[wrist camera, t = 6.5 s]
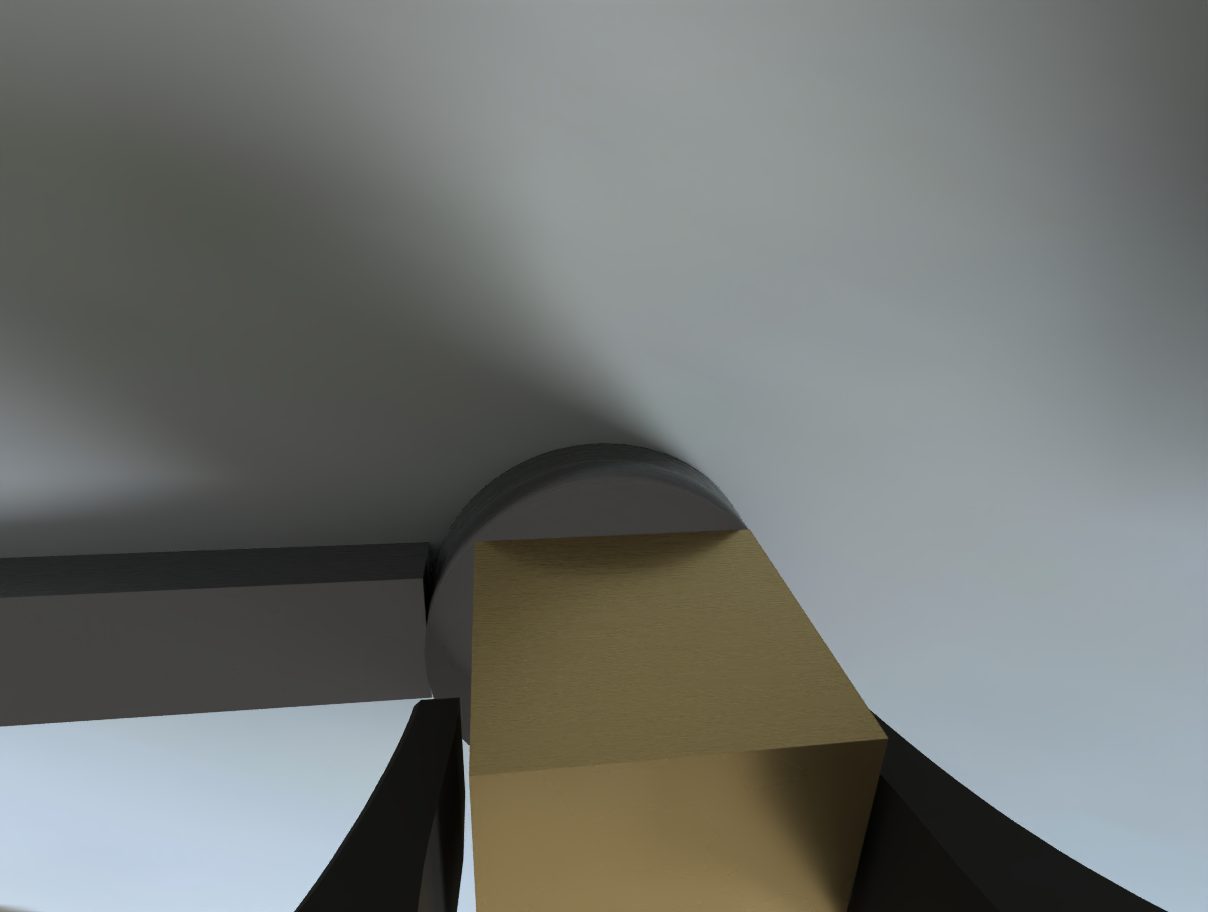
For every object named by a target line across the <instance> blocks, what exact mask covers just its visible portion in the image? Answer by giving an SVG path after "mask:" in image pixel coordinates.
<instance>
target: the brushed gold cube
mask: <svg viewBox="0 0 1208 912" xmlns="http://www.w3.org/2000/svg"><path fill="white" fill-rule="evenodd" d="M887 742H888V737H887V736H886V734H885V732H884V731H883V729H882V728H881V726H880V725H879V723H878V722H877V720H876V719H875V717H874V716H873V714H872V713H871V711H870V710H869V708H868V707H867V705H866V704H865V702H864V701H863V699H862V698H861V696H860V695H859V693H858V692H857V690H856V689H855V687H854V686H853V684H852V683H851V681H850V680H849V678H848V677H847V675H846V674H845V672H844V671H843V669H842V668H841V666H840V665H839V663H838V662H837V660H836V659H835V657H834V656H833V654H832V653H831V651H830V650H829V648H828V647H827V645H826V644H825V642H824V641H823V639H822V638H821V636H820V635H819V633H818V632H817V630H816V629H815V627H814V626H813V624H812V623H811V621H810V620H809V618H808V617H807V615H806V614H805V612H804V611H803V609H802V608H801V606H800V605H799V603H798V602H797V600H796V598H795V597H794V595H793V594H792V592H791V591H790V589H789V588H788V586H787V585H786V583H785V582H784V580H783V579H782V577H781V576H780V574H779V573H778V571H777V570H776V568H775V567H774V565H773V564H772V562H771V561H770V559H769V558H768V556H767V555H766V553H765V552H764V550H763V549H762V547H761V546H760V544H759V543H758V541H757V540H756V538H755V537H754V535H753V534H752V532H751V531H750V529H744V530H722V531H700V532H677V533H655V534H633V535H611V536H588V537H566V538H544V539H522V540H499V541H477V542H475V550H474V592H473V635H472V677H471V719H470V761H469V783H470V802H471V820H472V839H473V858H474V877H475V895H476V912H847V908H848V904H849V900H850V896H851V892H852V888H853V883H854V879H855V875H856V871H857V867H858V863H859V858H860V854H861V850H862V846H863V842H864V838H865V834H866V829H867V825H868V821H869V817H870V813H871V809H872V805H873V800H874V796H875V792H876V788H877V784H878V780H879V775H880V771H881V767H882V763H883V759H884V755H885V751H886V746H887Z"/></svg>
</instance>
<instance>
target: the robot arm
mask: <svg viewBox="0 0 1208 912" xmlns="http://www.w3.org/2000/svg"><path fill="white" fill-rule="evenodd" d="M870 711H871V710H870ZM871 713H872V714H873V716H874V717H875V719H876V720H877V722H878V723H879V725H880V726H881V728H882V729H883V731H884V732H885V734H886V736H887V737H888V742H887V746H886V751H885V755H884V759H883V763H882V767H881V771H880V775H879V780H878V784H877V788H876V792H875V796H874V800H873V805H872V809H871V813H870V817H869V821H868V825H867V829H866V834H865V838H864V842H863V846H862V850H861V854H860V858H859V863H858V867H857V871H856V875H855V879H854V883H853V888H852V892H851V896H850V900H849V904H848V908H847V912H1167V911H1165V910H1163V909H1161V908H1160V907H1158V906H1156V905H1154V904H1152V903H1150V902H1148V901H1146V900H1144V899H1142V898H1141V897H1139V896H1137V895H1135V894H1133V893H1131V892H1130V891H1128V890H1126V889H1124V888H1123V887H1121V886H1119V885H1117V884H1115V883H1114V882H1112V881H1110V880H1108V879H1107V878H1105V877H1103V876H1101V875H1100V874H1098V873H1096V872H1094V871H1092V870H1091V869H1089V868H1087V867H1085V866H1084V865H1082V864H1080V863H1079V862H1077V861H1075V860H1074V859H1072V858H1070V857H1069V856H1067V855H1065V854H1064V853H1062V852H1061V851H1059V850H1057V849H1056V848H1054V847H1053V846H1051V845H1050V844H1048V843H1047V842H1045V841H1043V840H1042V839H1040V838H1039V837H1037V836H1036V835H1034V834H1033V833H1031V832H1029V831H1028V830H1026V829H1025V828H1023V827H1022V826H1020V825H1019V824H1017V823H1016V822H1014V821H1013V820H1011V819H1010V818H1008V817H1007V816H1005V815H1004V814H1002V813H1001V812H1000V811H998V810H997V809H995V808H994V807H992V806H991V805H990V804H988V803H987V802H985V801H984V800H983V799H981V798H980V797H979V796H977V795H976V794H975V793H973V792H972V791H971V790H969V789H968V788H966V787H965V786H964V785H962V784H961V783H960V782H958V781H957V780H956V779H954V778H953V777H952V776H950V775H949V774H948V773H947V772H945V771H944V770H943V769H941V768H940V767H939V766H937V765H936V764H935V763H934V762H932V761H931V760H930V759H929V758H927V757H926V756H925V755H924V754H922V753H921V752H920V751H919V750H917V749H916V748H915V747H914V746H913V745H911V744H910V743H909V742H908V741H906V740H905V739H904V738H903V737H902V736H900V735H899V734H898V733H897V732H896V731H894V730H893V729H892V728H891V727H890V726H888V725H887V724H886V723H885V722H884V721H882V720H881V719H880V718H879V717H878V716H877V715H875V714H874V713H873V712H872V711H871ZM464 820H465V782H464V764H463V746H462V728H461V710H460V698H444V699H429V700H420V701H419V702H418V703H417V704H416V705H415V706H414V708H413V711H412V713H411V716H410V719H409V721H408V723H407V726H406V728H405V730H404V733H403V735H402V737H401V739H400V741H399V743H398V746H397V748H396V750H395V752H394V754H393V756H392V758H391V760H390V762H389V764H388V765H387V767H386V769H385V771H384V773H383V775H382V777H381V778H380V780H379V782H378V784H377V785H376V787H375V789H374V791H373V793H372V794H371V796H370V798H369V800H368V802H367V803H366V805H365V807H364V809H363V810H362V812H361V814H360V815H359V817H358V819H357V820H356V822H355V823H354V825H353V826H352V828H351V830H350V831H349V833H348V834H347V836H346V837H345V839H344V841H343V842H342V844H341V845H340V847H339V848H338V850H337V852H336V853H335V855H334V856H333V858H332V859H331V861H330V862H329V864H328V865H327V867H326V868H325V870H324V871H323V873H322V874H321V875H320V877H319V878H318V880H317V881H316V883H315V884H314V885H313V887H312V888H311V890H310V891H309V892H308V894H307V895H306V897H305V898H304V899H303V901H302V902H301V903H300V905H299V906H298V907H297V909H296V910H295V911H294V912H457V906H458V898H459V890H460V882H461V874H462V866H463V854H464Z"/></svg>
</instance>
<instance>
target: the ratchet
mask: <svg viewBox="0 0 1208 912" xmlns="http://www.w3.org/2000/svg"><path fill="white" fill-rule="evenodd" d="M744 529H748V528H747V527H746V525H745V524H744V522H743V521H742V519H741V518H740V516H739V515H738V513H737V511H736V510H735V508H734V507H733V505H732V504H731V502H730V501H729V500H728V498H727V497H726V496H725V495H724V494H723V493H722V492H721V490H720V489H719V488H718V487H717V486H716V485H715V484H714V483H713V482H711V481H710V480H709V479H708V478H707V477H706V476H704V475H703V474H702V473H700V472H699V471H697V470H696V469H694V468H693V467H691V466H689V465H688V464H686V463H684V462H682V461H680V460H678V459H676V458H674V457H671V456H669V455H667V454H664V453H661V452H657V451H654V450H651V449H648V448H643V447H637V446H631V445H625V444H605V443H599V444H587V445H577V446H572V447H567V448H563V449H558V450H554V451H551V452H548V453H545V454H542V455H539V456H536V457H533V458H531V459H529V460H527V461H525V462H523V463H521V464H519V465H517V466H515V467H513V468H511V469H510V470H508V471H506V472H505V473H503V474H502V475H500V476H499V477H497V478H496V479H494V480H493V481H492V482H491V483H489V484H488V485H487V486H486V487H485V488H483V489H482V490H481V491H480V492H479V493H477V494H476V496H475V497H474V498H473V499H472V500H471V501H470V502H469V503H468V504H467V505H466V506H465V508H464V509H463V510H462V511H461V513H460V514H459V516H458V517H457V519H456V520H455V521H454V523H453V524H452V526H451V528H450V530H449V531H448V533H447V535H446V537H445V539H444V541H443V543H442V546H441V549H440V552H439V555H438V558H437V561H436V565H435V571H434V577H433V584H432V585H431V571H430V556H429V542H424V543H397V544H370V545H343V546H316V547H289V548H262V549H235V550H208V551H181V552H154V553H128V554H103V555H77V556H52V557H26V558H1V559H0V726H15V725H29V724H44V723H59V722H74V721H89V720H104V719H119V718H133V717H148V716H163V715H178V714H193V713H208V712H223V711H237V710H252V709H267V708H282V707H297V706H312V705H327V704H341V703H356V702H371V701H386V700H401V699H416V698H431V697H432V694H433V697H434V699H444V698H460V710H461V728H462V739H463V740H464V741H465V742H466V743H467V744H468V745H470V719H471V677H472V635H473V592H474V550H475V542H477V541H499V540H522V539H544V538H566V537H588V536H611V535H633V534H655V533H677V532H700V531H722V530H744Z"/></svg>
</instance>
